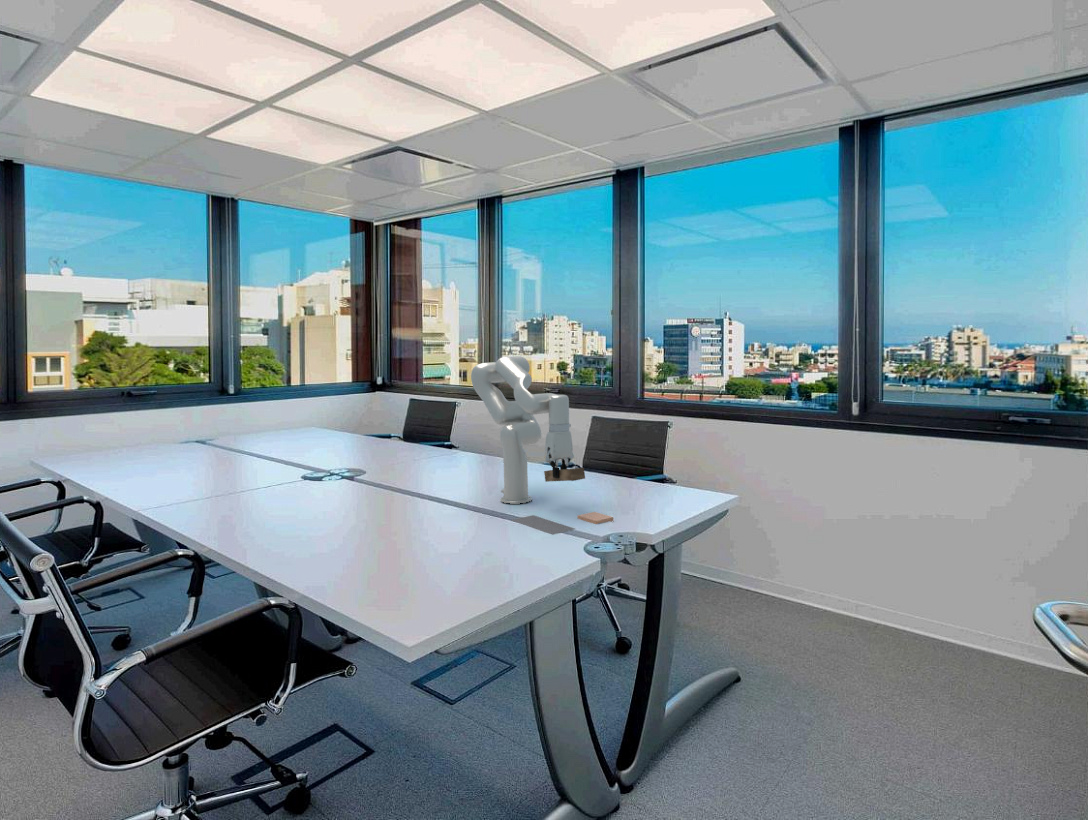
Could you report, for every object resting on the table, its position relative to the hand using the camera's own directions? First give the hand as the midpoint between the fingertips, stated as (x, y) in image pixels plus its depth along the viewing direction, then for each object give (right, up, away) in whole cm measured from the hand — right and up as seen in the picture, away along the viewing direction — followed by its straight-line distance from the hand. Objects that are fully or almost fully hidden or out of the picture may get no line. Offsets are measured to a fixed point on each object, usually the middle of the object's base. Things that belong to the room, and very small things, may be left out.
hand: (559, 476), depth 242 cm
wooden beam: (+1, -1, -1) cm, 2 cm away
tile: (+9, -13, -9) cm, 18 cm away
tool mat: (-6, -15, -19) cm, 25 cm away
